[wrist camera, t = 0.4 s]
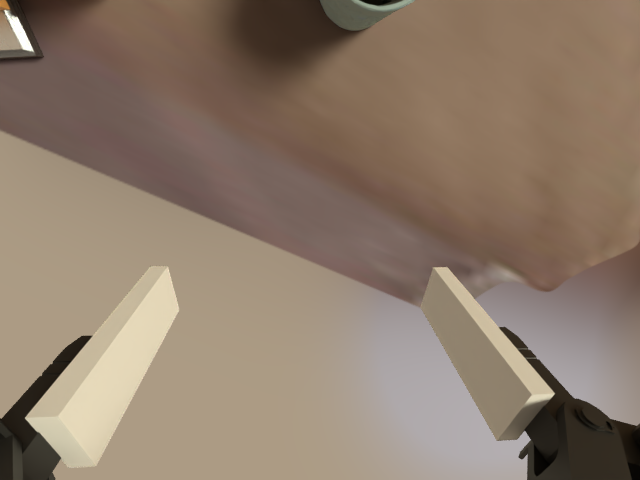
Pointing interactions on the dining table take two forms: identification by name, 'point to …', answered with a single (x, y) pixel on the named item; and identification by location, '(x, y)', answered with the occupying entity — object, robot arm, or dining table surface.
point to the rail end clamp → (4, 5)
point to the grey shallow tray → (16, 34)
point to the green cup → (360, 11)
